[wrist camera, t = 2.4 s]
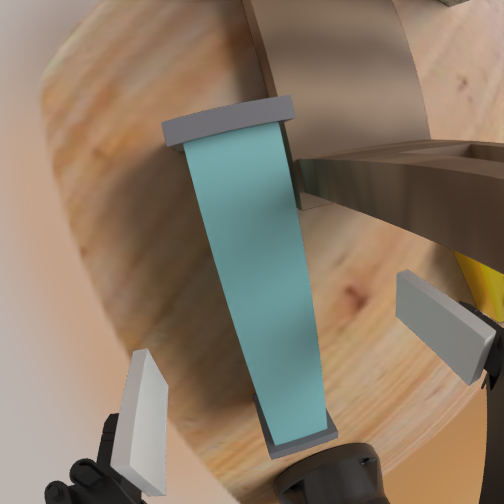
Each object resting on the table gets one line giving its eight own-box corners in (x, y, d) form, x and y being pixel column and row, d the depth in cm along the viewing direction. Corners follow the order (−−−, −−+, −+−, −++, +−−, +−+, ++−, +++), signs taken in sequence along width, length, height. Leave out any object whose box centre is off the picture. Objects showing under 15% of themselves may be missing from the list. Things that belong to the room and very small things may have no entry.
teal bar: (310, 384, 24) (337, 437, 18) (255, 401, 23) (271, 459, 17) (258, 117, 17) (290, 94, 10) (175, 136, 16) (161, 122, 10)
